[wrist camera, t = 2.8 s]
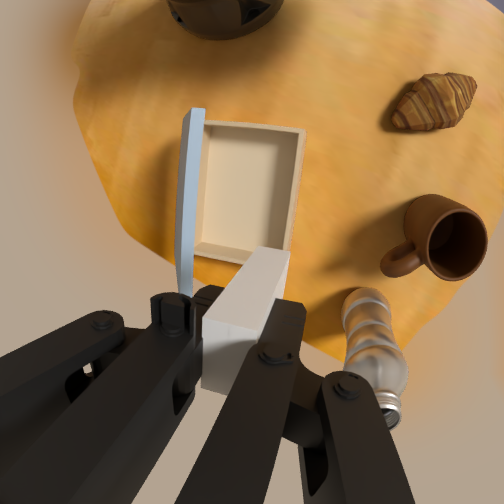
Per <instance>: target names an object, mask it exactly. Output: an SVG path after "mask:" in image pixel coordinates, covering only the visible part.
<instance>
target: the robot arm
mask: <svg viewBox="0 0 504 504" xmlns="http://www.w3.org/2000/svg"><path fill="white" fill-rule="evenodd" d="M166 1H167V4H168V6H169V8H170V11H171V13H172V15H173V17H174V19H175V20H176V21H177V23H178V24H179V25H180V26H182V27H183V28H184V29H186V30H187V31H188V32H190V33H191V34H193V35H195V36H197V37H200V38H204V39H209V40H226V39H233V38H237V37H240V36H243V35H246V34H249V33H251V32H253V31H255V30H257V29H259V28H260V27H262V26H263V25H265V24H266V23H267V22H268V21H269V20H271V19H272V18H273V17H274V15H275V14H276V13H277V12H278V10H279V9H280V7H281V5H282V3H283V0H166ZM290 253H291V252H290V251H284V250H279V249H274V248H269V247H263V246H258V247H257V248H256V249H255V251H254V252H253V253H252V254H251V256H250V257H249V258H248V260H247V261H246V262H245V263H244V265H243V266H242V267H241V269H240V270H239V271H238V272H237V274H236V275H235V276H234V277H233V279H232V280H231V281H230V283H229V284H228V285H227V286H226V288H223V287H219V286H215V285H208V286H206V287H203V288H201V289H199V290H198V291H197V293H196V294H195V295H194V297H192V298H191V297H190V296H187V295H185V294H182V293H175V292H167V293H161V294H157V295H155V296H153V297H151V299H150V301H151V318H152V323H151V324H150V325H149V326H148V327H147V328H146V329H138V328H129V327H124V321H123V317H122V316H121V315H120V314H118V313H116V312H113V311H107V310H102V311H95V312H92V313H90V314H87V315H85V316H83V317H81V318H79V319H77V320H75V321H73V322H71V323H69V324H67V325H65V326H63V327H61V328H59V329H57V330H55V331H53V332H51V333H49V334H46V335H44V336H42V337H41V338H38V339H36V340H34V341H32V342H30V343H28V344H26V345H24V346H22V347H20V348H18V349H16V350H14V351H12V352H10V353H8V354H6V355H4V356H2V357H0V504H131V503H132V501H133V500H134V498H135V497H136V495H137V493H138V492H139V490H140V488H141V487H142V485H143V484H144V482H145V480H146V479H147V477H148V475H149V474H150V472H151V470H152V469H153V467H154V466H155V464H156V462H157V461H158V459H159V457H160V455H161V454H162V452H163V450H164V449H165V447H166V446H167V444H168V442H169V441H170V439H171V437H172V435H173V434H174V432H175V430H176V429H177V427H178V425H179V424H180V422H181V420H182V418H183V417H184V415H185V413H186V412H187V410H188V408H189V407H190V405H191V403H192V401H193V400H194V397H195V385H196V384H197V382H198V380H199V379H200V377H201V388H203V389H207V390H210V391H213V392H217V393H221V394H224V395H227V398H226V400H225V403H224V405H223V407H222V409H221V411H220V413H219V415H218V417H217V420H216V421H215V424H214V426H213V428H212V430H211V432H210V434H209V436H208V438H207V440H206V442H205V444H204V446H203V448H202V450H201V452H200V454H199V456H198V458H197V460H196V462H195V464H194V466H193V468H192V470H191V472H190V474H189V476H188V478H187V480H186V482H185V484H184V486H183V488H182V490H181V491H180V494H179V496H178V497H177V499H176V501H175V503H174V504H263V502H264V499H265V496H266V492H267V489H268V485H269V482H270V479H271V475H272V471H273V468H274V464H275V460H276V456H277V453H278V449H279V445H280V441H281V437H283V438H285V439H287V440H289V441H291V442H294V443H296V444H298V453H299V462H300V471H301V480H302V489H303V499H304V504H415V501H414V498H413V495H412V492H411V489H410V486H409V483H408V480H407V477H406V475H405V472H404V469H403V466H402V463H401V460H400V458H399V455H398V452H397V450H396V447H395V444H394V441H393V439H392V436H391V434H390V431H389V428H388V426H387V423H386V421H385V418H384V415H383V413H382V410H381V408H380V405H379V403H378V400H377V398H376V396H375V393H374V391H373V388H372V386H371V385H370V384H369V382H368V381H367V380H366V379H365V378H363V377H362V376H360V375H358V374H356V373H353V372H348V371H336V372H332V373H330V374H328V375H326V376H325V378H324V377H321V376H319V375H317V374H315V373H313V372H311V371H310V370H308V369H307V368H306V367H305V366H304V365H303V364H302V362H301V361H300V358H299V351H300V346H301V341H302V335H303V330H304V324H305V319H306V313H307V311H306V309H305V307H304V305H303V304H302V303H298V302H293V301H288V300H283V293H284V288H285V282H286V276H287V271H288V265H289V259H290ZM88 363H90V365H91V368H92V372H90V373H87V374H86V373H84V370H83V367H84V366H85V365H87V364H88Z"/></svg>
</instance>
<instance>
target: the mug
mask: <svg viewBox="0 0 504 504" xmlns="http://www.w3.org/2000/svg"><path fill="white" fill-rule="evenodd" d="M404 232H405V236H406V239H407V241H406V242H404V243H403V244H401V245H399V246H397V247H395V248H393V249H392V250H390V251H389V252H388V253H387V254H386V255H385V256H384V257H383V258H382V260H381V263H380V268H381V271H382V272H383V274H384V275H386V276H388V277H392V278H397V277H401V276H404V275H407V274H409V273H411V272H412V271H414V270H415V269H417V268H418V267H420V266H421V265H423V264H425V265H426V266H427V267H428V268H429V269H430V270H431V271H432V272H433V273H434V274H435V275H436V276H437V277H439V278H441V279H443V280H446V281H459V280H463V279H465V278H467V277H469V276H470V275H471V274H473V273H474V272H475V271H476V270H477V269H478V267H479V266H480V264H481V263H482V261H483V259H484V257H485V254H486V251H487V244H488V238H487V231H486V228H485V225H484V223H483V221H482V219H481V218H480V217H479V216H478V215H477V214H476V213H475V212H474V211H472V210H471V209H469V208H468V207H466V206H464V205H462V204H460V203H458V202H455V201H453V200H451V199H448V198H446V197H443V196H440V195H436V194H428V195H424V196H421V197H419V198H418V199H416V200H415V201H414V202H413V203H412V204H411V205H410V207H409V208H408V210H407V212H406V215H405V219H404Z"/></svg>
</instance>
